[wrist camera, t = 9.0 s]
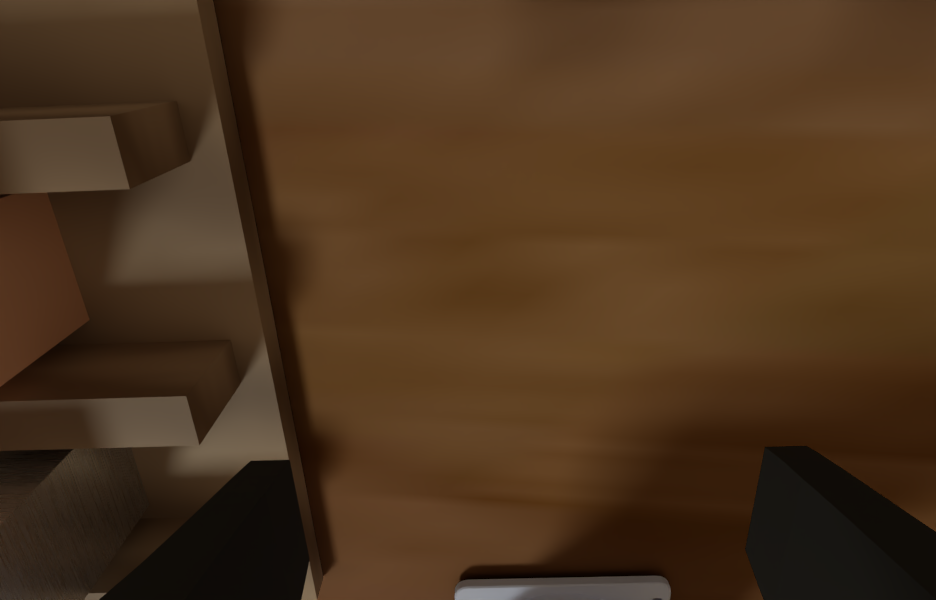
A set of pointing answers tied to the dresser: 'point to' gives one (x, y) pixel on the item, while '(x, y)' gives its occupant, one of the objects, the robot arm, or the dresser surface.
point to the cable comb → (145, 257)
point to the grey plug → (64, 518)
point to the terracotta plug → (33, 283)
